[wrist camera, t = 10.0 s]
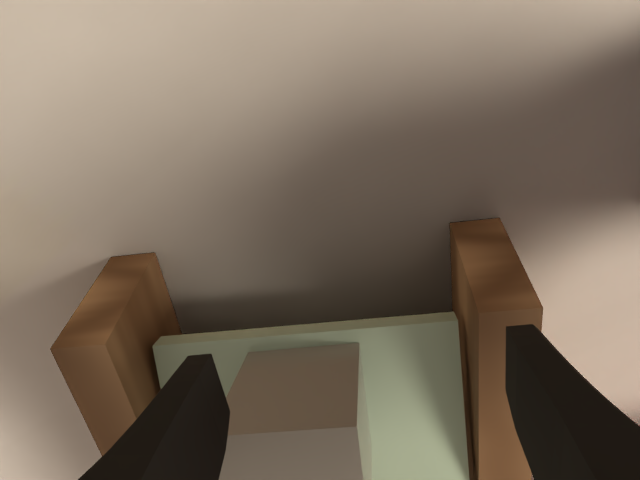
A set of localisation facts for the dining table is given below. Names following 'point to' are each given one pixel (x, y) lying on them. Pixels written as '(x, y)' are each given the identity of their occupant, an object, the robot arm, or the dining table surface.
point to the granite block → (299, 416)
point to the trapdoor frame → (160, 320)
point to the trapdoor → (369, 383)
